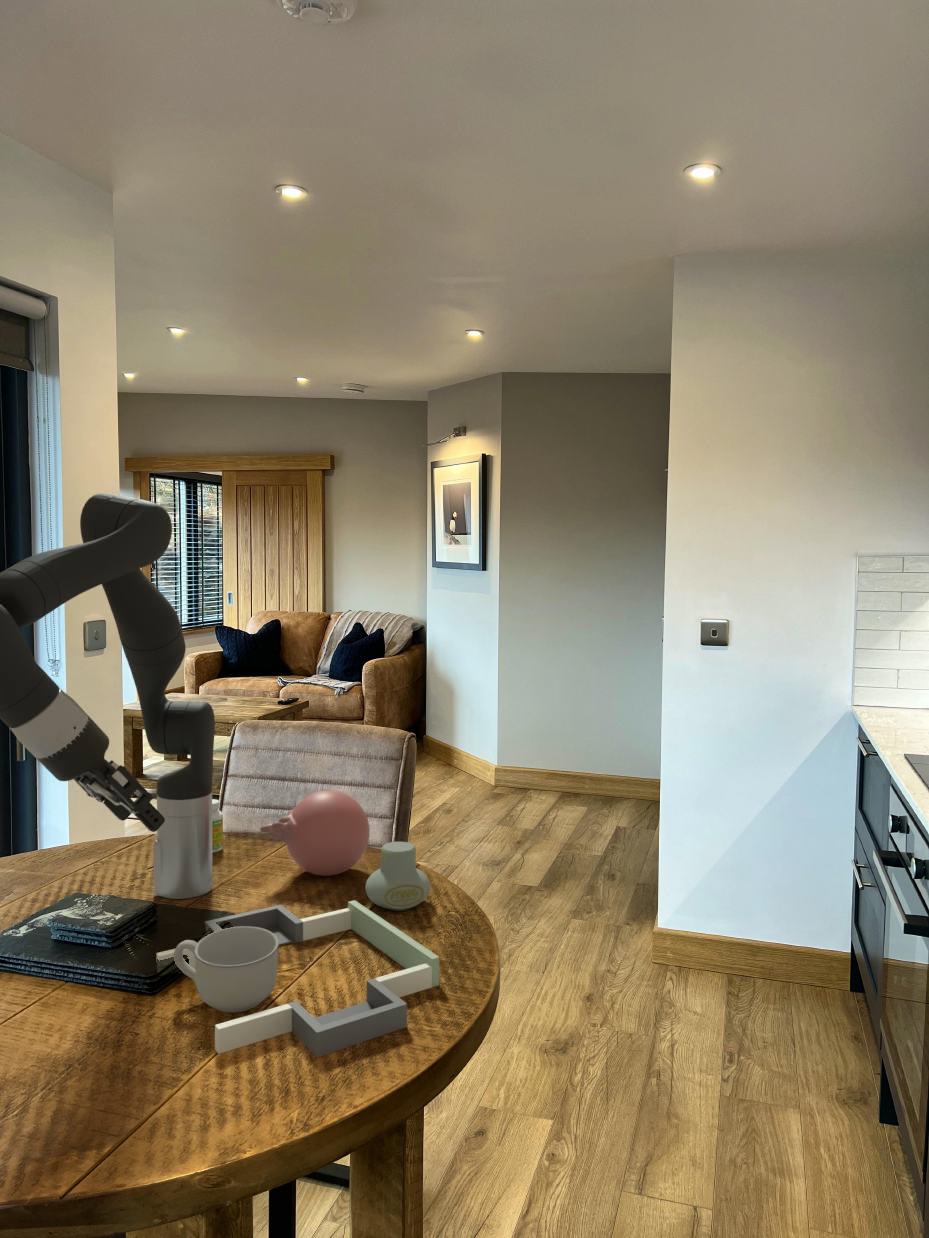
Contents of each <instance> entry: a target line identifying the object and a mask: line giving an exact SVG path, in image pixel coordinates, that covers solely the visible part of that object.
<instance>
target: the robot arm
mask: <svg viewBox="0 0 929 1238" xmlns="http://www.w3.org/2000/svg"><path fill="white" fill-rule="evenodd" d="M170 516H171V515H170V514H169V513H168V511H167V510H166V509H165V508H164V507H163V506H161V505H160V504H157V503H156V502H152V501H150V500H147V499H146V500H144V499H141V498H136V497H131V496H126V495H121V494H116V493H115V494H114V493H109V492H106V493H96V494H93V495H92V496H91V497H89V498H88V499H87V500H86V502H85V503H84V505H83V507H82V509H81V514H80V521H79V528H80V535H81V539H82V543H77V544H73V545H69V546H64V547H59V548H55V549H51V550H46V551H43V552H40V553H35V554H34V555H31V556H29V557H26V558H25V559H22V560H21V561H19V562H17V563H16V564H14V565H12V566H10V567H8V568H6V569H4V570H3V571H1V572H0V720H1V721H2V722H3V723H4V724H5V725H6V726H7V727H8V728H9V730H10V731H11V732H12V733H13V734H14V736H15V737H16V739H17V740H18V741H19V743H21V745H23V747H24V748H25V749H26V750H27V751H28V752H29V753H31V755H32V756H33V757H34V758H36V760H37V761H38V762H40V764H42V766H44V768H45V769H46V770H47V771H48V772H49V773H51V775H52V776H53V777H55V779H56V780H58V781H60V782H69V781H73V780H74V782H75V783H76V784H77V785H78V786H80V788H81V789H82V790H83V791H84V792H85V793H86V795H87V796H88V797H91V798H92V799H93V798H94V799H95V800H96V802H98V803H101V804H102V803H103V804H104V806H105V807H106V808H107V809H108V810H109V811H110V812H111V813H112V814H113V815H114V816H115V817H116V818H117V819H118V820H120V821H126V820H127V819H128V818H129V817H130V816H131V815H134V816H135V817H136V818H137V819H138V820H139V821H140V823H141V824H143V826H145V828H146V829H147V830H148V831H149V832H152V833H155V832H156V838H155V840H154V841H153V896H154V897H163V898H166V899H171V900H172V899H173V900H182V899H192V898H196V897H197V898H198V897H200V896H204V895H205V894H207V893H209V892H210V891H211V890H212V889H213V853H212V799H213V775H214V773H213V772H214V748H215V747H214V745H215V742H214V741H215V732H216V731H215V729H216V728H215V726H216V723H215V721H216V720H215V712H214V709H213V706H212V705H211V704H210V703H209V702H207V701H197V700H195V701H191V700H189V701H188V700H187V701H185V700H169V699H168V698H167V697H166V695H165V691H166V689H167V687H168V685H169V683H170V682H171V680H173V678H174V677H175V675H176V673H178V670H179V669H180V667H181V665H182V663H183V661H184V659H185V654H186V641H185V637H184V632H183V630H182V629H183V628H182V625H181V622H180V618H179V616H178V614H177V611H176V610H175V608H174V607H173V605H172V604H171V603H170V601H169V600H168V599H167V598H166V596H164V594H163V593H162V592H161V591H160V590H159V589H158V588H157V587H156V585H154V584H153V582H152V581H151V580H150V579H149V578H148V576H146V575H145V573H144V572H143V570H142V568H145V567H148V566H150V565H152V564H153V563H155V562H157V561H158V560H159V559H160V558H161V557H162V556H164V555H165V552H166V551H167V550H168V548H169V545H170V543H171V540H172V533H173V524H172V519H171V517H170ZM98 586H102V588H103V591H104V595H105V596H106V599H107V602H108V605H109V607H110V611H111V613H112V616H113V619H114V622H115V625H116V629H117V633H118V636H119V640H120V644H121V646H122V649H123V653H124V655H125V658H126V661H127V663H128V667H129V669H130V672H131V675H132V680H133V682H134V685H135V689H136V692H137V696H138V701H139V705H140V710H141V711H140V712H141V717H142V721H143V722H142V723H143V727H144V732H145V736H146V739H147V742H148V743H147V744H149V747H150V748H151V750H152V751H153V752H154V753H156V754H160V755H168V756H169V755H170V756H172V755H174V756H175V755H176V756H190V758H189V759H190V760H189V764H187V765H185V766H184V767H182V768H180V769H177V770H173V771H171V772H167V773H165V774H163V775H161V776H160V777H159V778H158V779H157V781H156V807H155V806H154V805H153V804H152V803H151V802H152V800H153V799H154V797H153V795H152V794H151V793H150V792H149V791H148V790H147V789H146V788H145V787H144V786H143V785H142V784H141V783H140V782H139V781H138V780H137V779H136V778H135V777H134V776H133V774H131V773H130V771H128V770H127V768H126V767H125V766H124V765H121V764H120V765H119V764H118V763H116V762H115V761H114V760H109V761H108V760H107V759H106V758H105V757H106V753H107V751H108V748H109V746H110V739H109V737H108V735H107V734H106V733H105V731H103V730H102V729H101V727H100V726H99V725H98V724H97V723H96V722H95V721H94V720H93V719H92V718H91V717H90V716H89V715H88V714H87V712H85V710H84V709H83V708H82V707H81V706H80V705H79V704H78V702H76V701H75V700H74V699H73V698H72V697H71V696H70V695H68V693H66V692H65V691H63V689H62V688H60V687H59V685H58V684H57V683H56V682H55V681H54V680H53V679H52V678H51V676H49V674H47V673H46V672H45V670H44V668H42V667H41V666H40V665H39V664H38V663H37V662H36V659H35V657H34V655H33V653H32V651H31V649H30V647H29V645H28V643H27V641H26V639H25V638H24V637H25V636H24V635H23V634H22V632H21V630H22V629H24V628H26V627H28V626H31V625H33V624H34V623H36V622H38V621H39V620H41V619H42V618H44V617H45V616H47V615H48V614H50V613H51V612H53V611H55V610H56V609H58V608H59V607H61V606H62V605H64V604H65V603H67V602H69V601H70V600H72V599H74V598H76V597H78V596H79V595H81V594H83V593H85V592H87V591H89V590H91V589H94V588H96V587H98ZM133 794H135V795H136V796H137V798H136V799H135V800H133V799H132V798H131V797H132V796H133Z"/></svg>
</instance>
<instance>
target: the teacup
mask: <svg viewBox="0 0 929 1238" xmlns="http://www.w3.org/2000/svg"><path fill="white" fill-rule="evenodd" d="M279 947H280V946H279V940H278V938H277V936H276V935H275V934H273V933H272V932H270V931H268V930H266V929H263V928H258V927H251V926H239V927H230V928H225V929H221V930H218V931H215V932H213V933H211V934H208V935H207V936H205V935H204V937H202V938H201V939H200V940H199V941H198V942H197V941H195V940H192V939H185V940H183V941H181V942H180V943H178V944H177V945H176V948H174V949H175V951H174V961H175V964H176V965H177V967H178V968H179V969H180V970H181V971H182V973H183V974H184V975H186V976H187V977H189V978H190V979H192V980H193V982H194V984H196V989H197V993H198V995H199V997H200V999H201V1000H202V1001H203V1002H204V1003H205V1004H206V1005H208V1006H211V1007H212V1008H213V1009H215V1010H217V1011H219V1012H223V1013H230V1014H234V1013H242V1012H247V1011H249V1010H251V1009H254V1008H255V1007H257V1006H258V1005H260V1004H261V1003H262V1002H263V1001H264V1000H266V999H267V998H269V996H270V995H271V994H272V992H273V990H274V989H275V987H276V983H277V979H278V971H279V967H278V966H279V964H278V963H279V962H278V961H279ZM184 949H189V950H191V951H192V952H193V954H194V956H195V960H196V968H193V967H192V966H190V965H189V964H188V963H187V962H186V961H185V959H184V958H183V954H182V953H183V950H184Z"/></svg>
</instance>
